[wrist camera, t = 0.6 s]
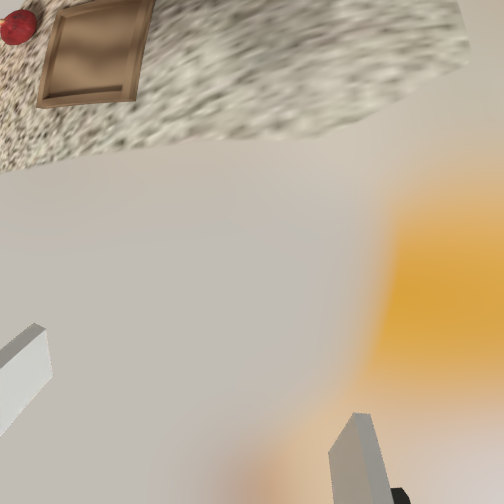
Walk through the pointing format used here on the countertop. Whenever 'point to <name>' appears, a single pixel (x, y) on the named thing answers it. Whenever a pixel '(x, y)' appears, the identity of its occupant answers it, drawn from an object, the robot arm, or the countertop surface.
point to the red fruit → (18, 27)
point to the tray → (95, 53)
